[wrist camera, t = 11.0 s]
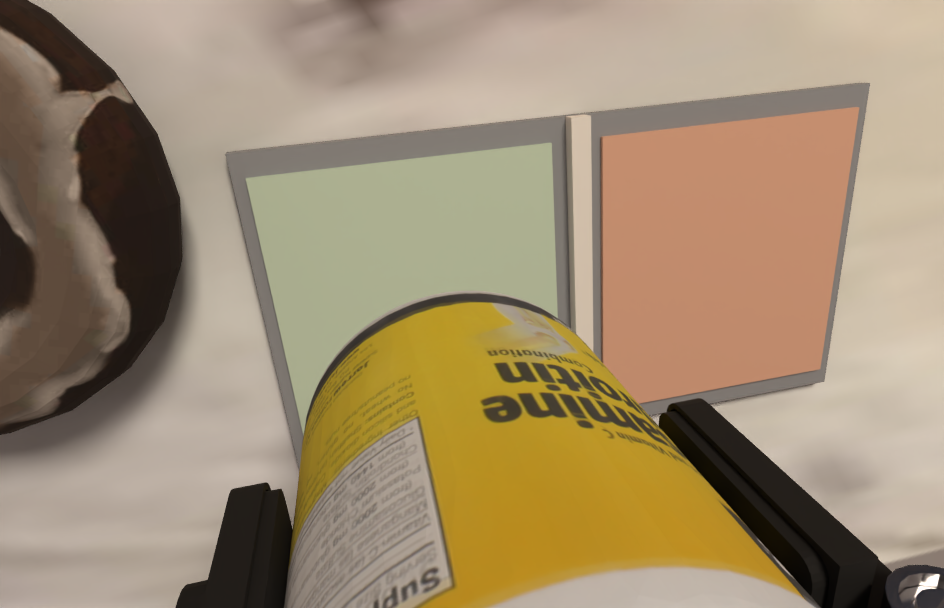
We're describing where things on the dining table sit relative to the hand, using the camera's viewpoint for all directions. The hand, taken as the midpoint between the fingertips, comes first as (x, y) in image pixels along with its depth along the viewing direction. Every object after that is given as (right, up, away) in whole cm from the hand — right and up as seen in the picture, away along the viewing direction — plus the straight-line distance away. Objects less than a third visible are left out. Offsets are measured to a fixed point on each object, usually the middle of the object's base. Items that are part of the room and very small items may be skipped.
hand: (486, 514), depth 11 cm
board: (+3, +4, +10) cm, 11 cm away
